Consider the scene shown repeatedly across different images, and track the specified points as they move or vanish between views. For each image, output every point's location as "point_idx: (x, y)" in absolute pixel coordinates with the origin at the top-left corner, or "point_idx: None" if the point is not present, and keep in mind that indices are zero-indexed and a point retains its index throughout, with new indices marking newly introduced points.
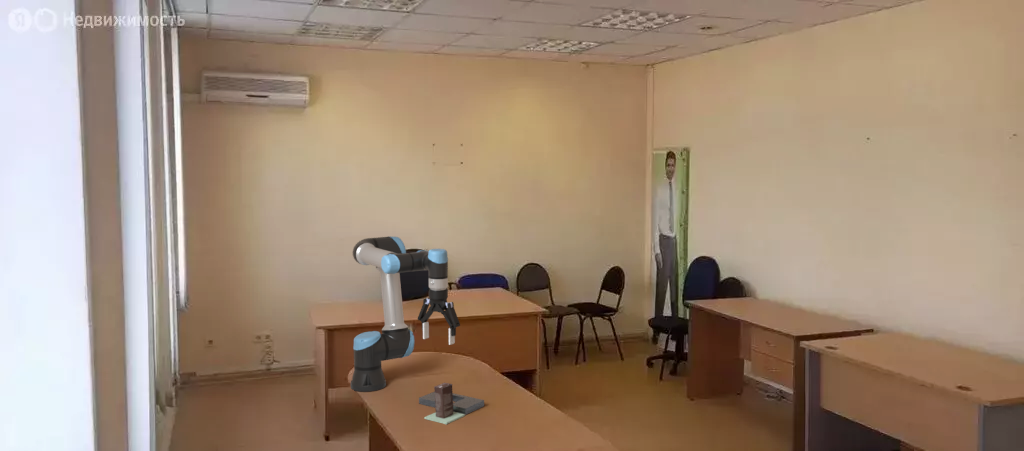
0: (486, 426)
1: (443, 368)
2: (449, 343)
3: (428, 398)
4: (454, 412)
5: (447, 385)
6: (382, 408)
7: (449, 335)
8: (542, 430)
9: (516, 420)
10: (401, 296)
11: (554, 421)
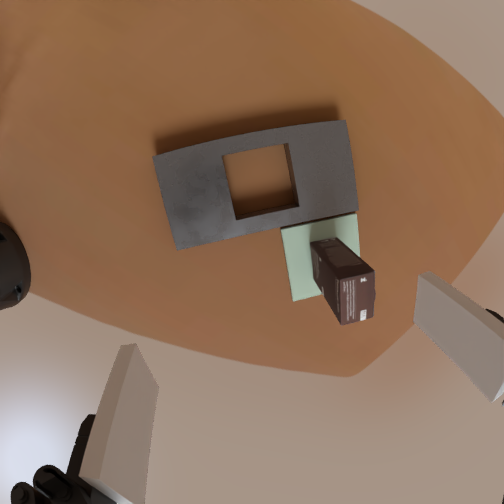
0: (426, 224)
1: (5, 40)
2: (423, 323)
3: (204, 232)
4: (326, 224)
5: (372, 291)
6: (152, 329)
7: (460, 359)
8: (489, 169)
9: (446, 154)
10: None
11: (481, 117)
